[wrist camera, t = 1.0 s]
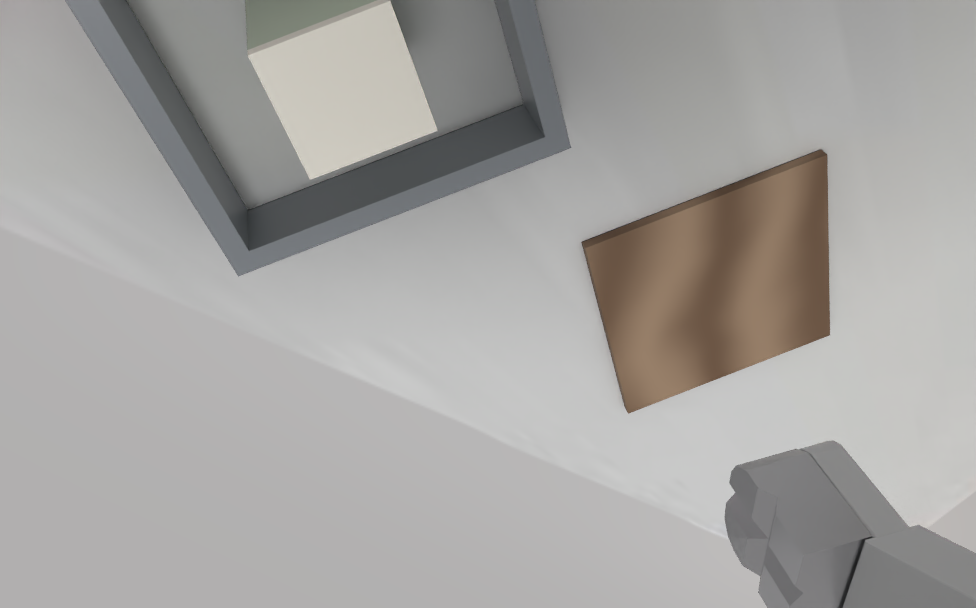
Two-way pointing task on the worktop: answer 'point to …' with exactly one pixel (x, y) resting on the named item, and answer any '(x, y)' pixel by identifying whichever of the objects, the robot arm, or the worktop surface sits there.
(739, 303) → the walnut pad
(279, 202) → the frame
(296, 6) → the sage block
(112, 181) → the worktop surface
